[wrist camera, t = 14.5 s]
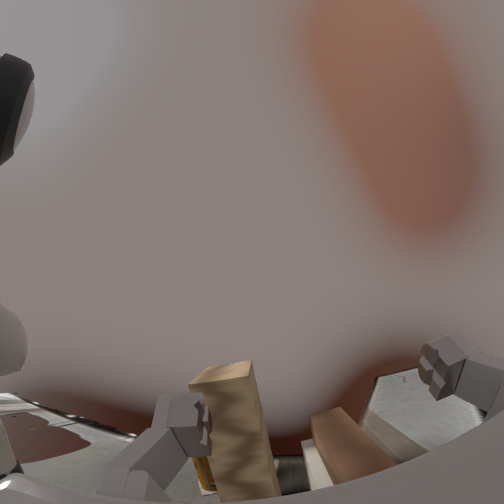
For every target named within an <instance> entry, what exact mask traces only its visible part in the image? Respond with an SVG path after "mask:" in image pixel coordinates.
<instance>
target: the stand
mask: <svg viewBox="0 0 504 504" xmlns="http://www.w3.org/2000/svg"><path fill="white" fill-rule="evenodd" d="M188 386H189V390H190V393H199V392H201V393H203V395H204V398H205V406H206V407H208V408H209V410H210V414H211V418H212V433H211V434H210V435H209V436H210V438H211V440H212V456H207V459H208V462H209V466H210V469H211V472H212V475H213V479H214V482H215V485H216V488H217V491H218V494H219V497H220V500H221V502H234V501H247V500H256V499H265V498H272V497H279V496H281V491H280V487H279V482H278V478H277V474H276V470H275V465H274V461H273V457H272V452H271V448H270V443H269V439H268V434H267V430H266V425H265V421H264V416H263V412H262V407H261V403H260V398H259V393H258V388H257V384H256V379H255V374H254V369H253V365H252V360H249V361H244V362H238V363H232V364H226V365H220V366H213V367H207V368H206V369H205V370H204V371H203V372H202V373H201V374H200V375H198V376H197V377H196V378H195V379H194V380H193V381H192V382H191V383H189V384H188Z"/></svg>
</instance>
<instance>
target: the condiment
mask: <svg viewBox="0 0 504 504" xmlns="http://www.w3.org/2000/svg"><path fill="white" fill-rule="evenodd" d="M192 459H193V462H194V465H195V468H196V472H197V475H198V478H199V480H198V482H199V486H200V489H201V493H202V495H208V494H213V493H218V491H217V488H216V485H215V482H214V479H213V475H212V472H211V469H210V466H209V462H208V459H207V456H204V457H192Z"/></svg>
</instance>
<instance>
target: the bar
mask: <svg viewBox="0 0 504 504" xmlns="http://www.w3.org/2000/svg"><path fill="white" fill-rule="evenodd" d="M309 420H310V425H311V431H312V436H313V442H314V444H315V446H316V449H317V451H318V453H319V455H320V457H321V459H322V462H323V464H324V466H325V468H326V470H327V472H328V474H329V477H330V479H331V481H332V483H333V485H337V484H341V483H345V482H348V481H352V480H355V479H358V478H362V477H365V476H368V475H371V474H374V473H377V472H380V471H383V470H385V469H388V468H391V467H394V466H396V465H397V464H396V463H395V462H394V461H393V460H392V459H391V458H390V457H389V456H388V455H387V454H386V453H385V452H384V451H383V450H382V449H381V448H380V447H379V446H378V445H377V444H376V443H375V442H374V441H373V440H372V439H371V438H370V437H369V436H368V435H367V434H366V433H365V432H364V431H363V430H362V429H361V428H360V427H359V426H358V425H357V424H356V423H355V422H354V421H353V420H352V419H351V418H350V417H349V416H348V415H347V414H346V413H345V411H343V409H342V408H341V407H338V408H335V409H331V410H327V411H323V412H319V413H315V414H312V415H309Z"/></svg>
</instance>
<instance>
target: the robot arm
mask: <svg viewBox="0 0 504 504" xmlns="http://www.w3.org/2000/svg"><path fill="white" fill-rule="evenodd" d="M33 80H34V73H33V70H32V67H31V64H29V63H28V62H26V61H24V60H22V59H20V58H18V57H15V56H12V55H9V54H7V53H6V54H4V55H3V56H0V165H2V164H3V163H4V162H6V161H7V160H8V159H9V158H11V157H12V156H13V154H14V150H15V149H16V147H17V146H18V144H19V143H20V141H21V140H22V138H23V136H24V134H25V132H26V130H27V128H28V125H29V122H30V119H31V116H32V112H33V107H34V94H35V93H34V83H33ZM421 353H422V354H423V356H422V357H421V359H420V360H419V363H418V373H419V376H420V379H421V380H422V381H423V383H425V384H427V385H429V391H430V393H431V394H432V395H433V397H434V398H435V399H436V401H438V400H441V399H443V398H445V397H448V396H450V395H452V394H454V395H455V396H457V397H459V398H461V399H463V400H465V401H467V402H469V403H471V404H473V405H475V406H477V407H479V408H481V409H483V410H485V411H487V412H488V414H487V416H486V417H485V419H484V422H483V423H482V424H480V425H479V426H477V427H475V428H474V429H472V430H470V431H468V432H467V433H465V434H463V435H461V436H459V437H458V438H456V439H454V440H452V441H450V442H448V443H446V444H444V445H442V446H440V447H438V448H436V449H434V450H432V451H429V452H427V453H425V454H423V455H421V456H418V457H416V458H414V459H411V460H409V461H406V462H404V463H401V464H399V465H396V466H394V467H391V468H388V469H385V470H383V471H380V472H377V473H374V474H371V475H368V476H365V477H362V478H358V479H355V480H352V481H348V482H345V483H341V484H337V485H333V486H329V487H325V488H321V489H317V490H312V491H307V492H302V493H297V494H291V495H285V496H279V497H272V498H265V499H256V500H247V501H234V502H216V503H174V502H173V501H172V500H171V499H170V498H169V497H168V496H167V494H166V493H165V492H164V490H165V489H166V488H167V486H168V485H169V484H170V483H171V481H172V480H173V479H174V477H175V476H176V475H177V473H178V472H179V471H180V469H181V468H182V467H183V465H184V464H185V463H186V461H187V460H188V457H204V456H212V440H211V438H210V436H209V435H210V434H211V433H212V418H211V414H210V410H209V408H208V407H206V406H205V398H204V395H203V393H201V392H199V393H183V394H167V395H160V396H159V398H158V401H157V405H156V410H155V414H154V418H153V422H152V427H151V428H147V429H146V430H145V431H144V432H143V433H142V434H141V435H140V436H138V437H137V438H136V439H135V440H134V441H133V442H132V443H131V444H130V445H129V446H127V447H126V448H125V449H124V450H123V451H122V452H121V453H120V454H118V455H117V456H116V457H115V458H114V459H113V460H112V461H111V462H109V463H108V464H107V465H106V466H105V469H104V472H103V476H102V479H101V483H100V486H99V490H98V494H95V493H90V492H85V491H80V490H76V489H72V488H68V487H64V486H60V485H56V484H53V483H49V482H46V481H43V480H39V479H36V478H33V477H30V476H28V475H25V474H24V471H23V469H22V467H21V466H20V464H19V462H18V461H17V460H16V459H15V457H14V454H13V451H12V449H11V446H10V443H9V440H8V437H7V434H6V431H5V428H4V425H3V422H2V420H1V418H0V504H504V358H501V357H498V356H494V355H491V354H487V353H484V352H479V353H478V352H477V351H476V350H475V349H474V348H473V347H472V346H471V345H470V344H469V343H468V342H467V341H465V340H464V339H463V338H462V337H461V336H460V335H459V334H458V333H457V332H452V333H450V334H447V335H445V336H443V337H440V338H437V339H435V340H432V341H429V342H427V343H424V344H423V346H422V349H421ZM26 356H27V337H26V333H25V330H24V327H23V325H22V323H21V321H20V320H19V318H18V317H17V315H16V314H15V313H14V312H13V311H12V310H11V309H9V308H7V307H6V306H4V305H3V304H1V302H0V376H4V375H8V374H11V373H14V372H17V371H20V370H21V368H22V366H23V365H24V362H25V359H26Z"/></svg>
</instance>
